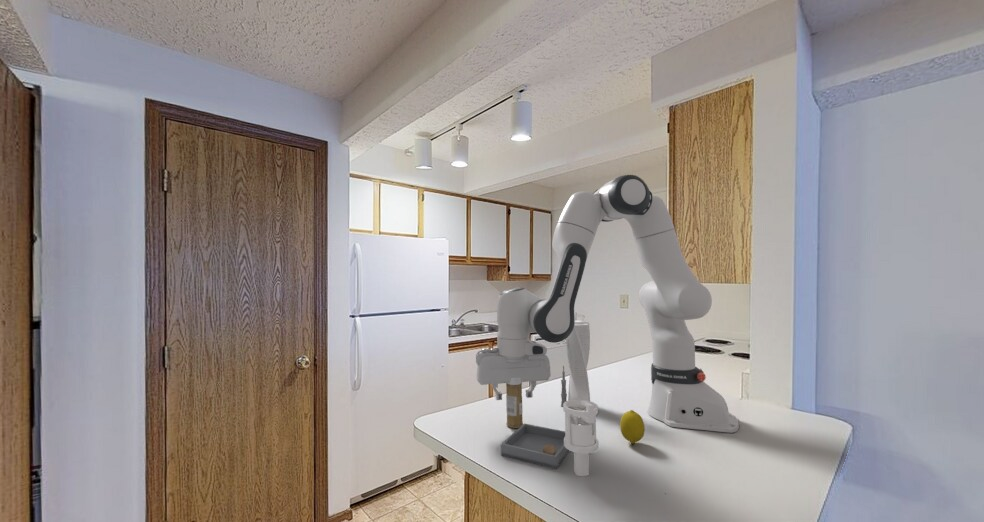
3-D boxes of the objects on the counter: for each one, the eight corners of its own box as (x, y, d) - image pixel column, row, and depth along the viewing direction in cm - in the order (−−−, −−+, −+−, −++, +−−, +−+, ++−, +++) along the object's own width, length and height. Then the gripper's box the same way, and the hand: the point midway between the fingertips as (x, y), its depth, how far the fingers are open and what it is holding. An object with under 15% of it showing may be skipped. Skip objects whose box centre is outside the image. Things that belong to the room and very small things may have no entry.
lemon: (644, 440, 94) (643, 407, 94) (645, 450, 89) (644, 415, 89) (620, 437, 96) (619, 405, 96) (620, 447, 90) (619, 413, 91)
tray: (574, 443, 92) (574, 433, 92) (556, 468, 81) (556, 457, 81) (524, 433, 99) (524, 423, 99) (501, 455, 87) (500, 444, 87)
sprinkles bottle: (526, 426, 103) (525, 376, 103) (512, 430, 101) (512, 378, 101) (516, 420, 107) (515, 372, 107) (502, 424, 104) (502, 375, 105)
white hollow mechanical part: (577, 485, 75) (576, 407, 75) (557, 468, 81) (556, 397, 81) (606, 476, 77) (605, 402, 78) (584, 461, 84) (583, 392, 84)
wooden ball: (558, 457, 85) (558, 443, 85) (553, 463, 82) (553, 449, 82) (545, 454, 86) (545, 440, 86) (540, 460, 83) (540, 446, 83)
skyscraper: (571, 399, 124) (570, 313, 125) (595, 404, 120) (594, 315, 120) (560, 407, 118) (558, 316, 118) (585, 413, 113) (583, 318, 114)
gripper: (477, 351, 99) (478, 405, 99) (552, 347, 103) (553, 399, 103) (474, 346, 105) (474, 397, 105) (544, 343, 109) (545, 391, 109)
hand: (514, 398), depth 104 cm, fingers open, 7 cm apart
